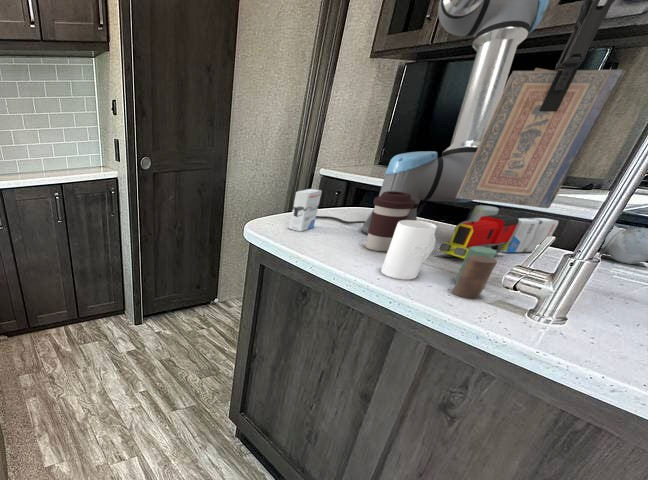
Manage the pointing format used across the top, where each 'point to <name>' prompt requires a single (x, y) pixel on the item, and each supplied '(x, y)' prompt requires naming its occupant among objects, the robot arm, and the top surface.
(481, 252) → the sage peg
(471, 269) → the walnut peg
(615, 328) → the top surface
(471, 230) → the toy train
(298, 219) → the ink box
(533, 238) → the ink box
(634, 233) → the figurine
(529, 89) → the book
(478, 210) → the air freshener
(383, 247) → the coffee cup
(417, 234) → the mug
